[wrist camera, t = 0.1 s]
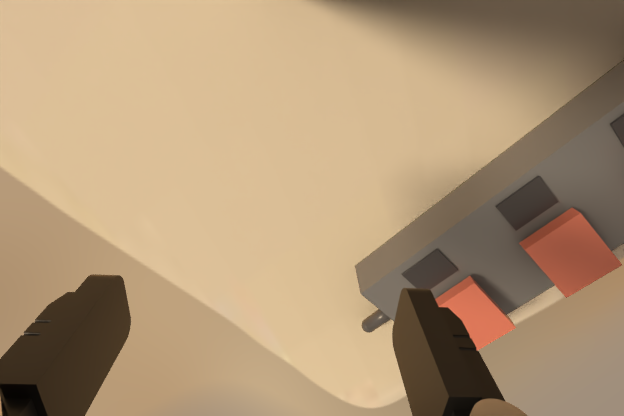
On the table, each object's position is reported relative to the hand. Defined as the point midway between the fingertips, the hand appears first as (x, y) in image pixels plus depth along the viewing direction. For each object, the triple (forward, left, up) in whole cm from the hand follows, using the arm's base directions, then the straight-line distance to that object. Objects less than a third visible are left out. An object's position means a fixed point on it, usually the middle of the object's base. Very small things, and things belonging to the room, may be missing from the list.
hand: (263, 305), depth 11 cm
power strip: (+6, +18, -17) cm, 25 cm away
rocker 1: (+12, +15, -13) cm, 23 cm away
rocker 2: (+6, +20, -13) cm, 24 cm away
